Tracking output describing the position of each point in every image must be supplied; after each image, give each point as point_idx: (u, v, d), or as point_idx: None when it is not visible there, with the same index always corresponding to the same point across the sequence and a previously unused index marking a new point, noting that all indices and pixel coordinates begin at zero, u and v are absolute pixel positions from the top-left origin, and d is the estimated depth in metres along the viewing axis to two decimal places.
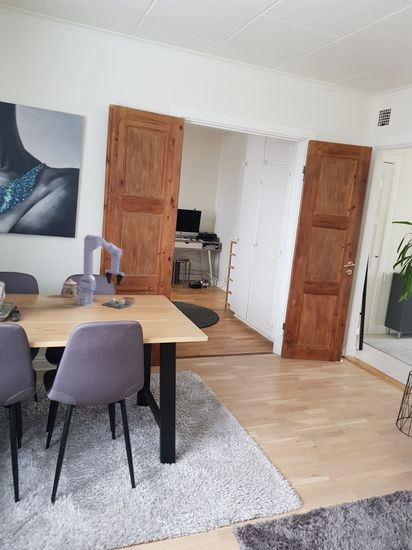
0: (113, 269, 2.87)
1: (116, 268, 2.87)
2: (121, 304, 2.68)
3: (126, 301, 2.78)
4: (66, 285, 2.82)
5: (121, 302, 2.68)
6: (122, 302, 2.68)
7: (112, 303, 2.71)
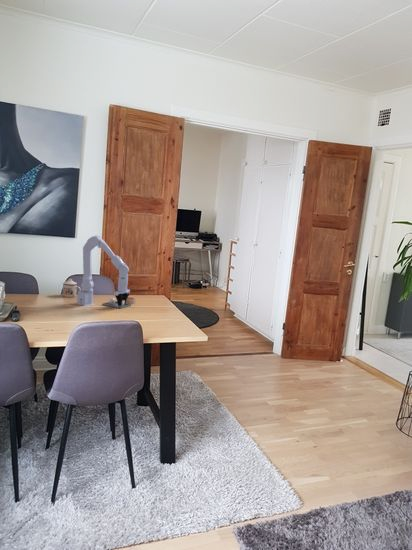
0: None
1: (118, 287, 2.66)
2: None
3: (126, 301, 2.78)
4: (66, 285, 2.82)
5: None
6: (122, 302, 2.68)
7: (112, 303, 2.71)
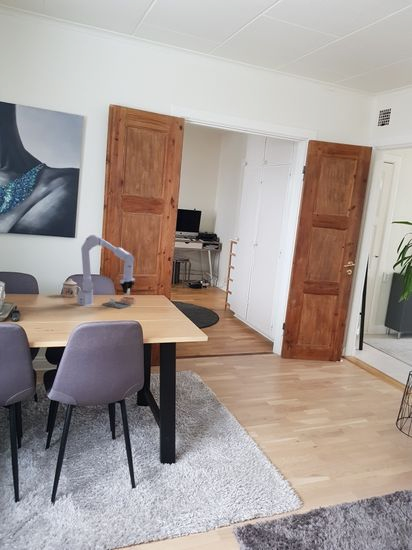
0: None
1: (124, 275, 2.72)
2: None
3: (126, 301, 2.78)
4: (66, 285, 2.82)
5: None
6: (127, 290, 2.74)
7: (112, 303, 2.71)
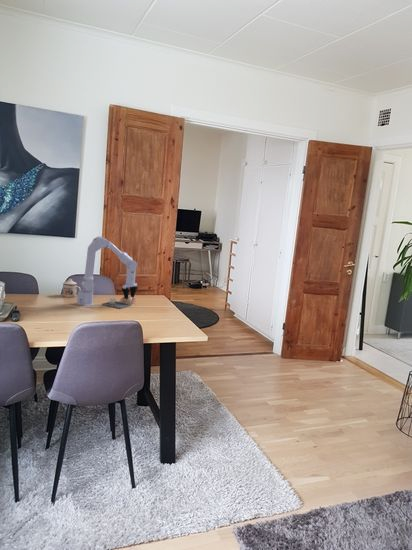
0: None
1: (126, 280, 2.78)
2: None
3: (126, 301, 2.78)
4: (66, 285, 2.82)
5: (129, 299, 2.79)
6: (130, 299, 2.80)
7: (112, 303, 2.71)
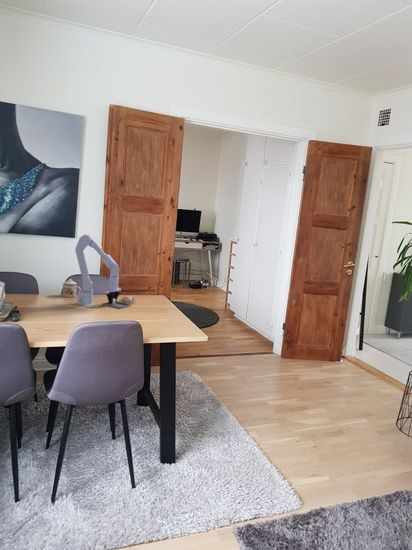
0: None
1: (109, 285, 2.69)
2: None
3: (126, 301, 2.78)
4: (66, 285, 2.82)
5: (129, 299, 2.79)
6: (129, 299, 2.79)
7: (112, 303, 2.71)
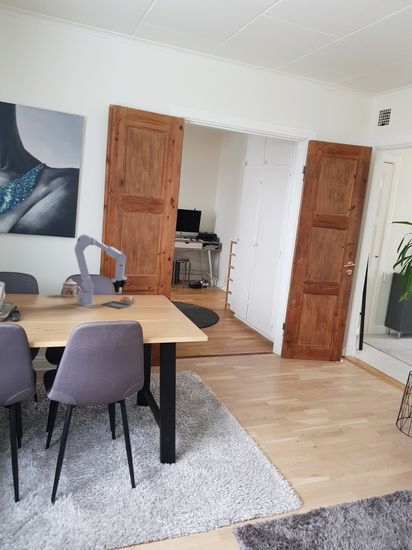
0: None
1: (115, 274, 2.72)
2: None
3: (126, 301, 2.78)
4: (66, 285, 2.82)
5: (129, 299, 2.79)
6: (130, 299, 2.80)
7: (118, 292, 2.74)
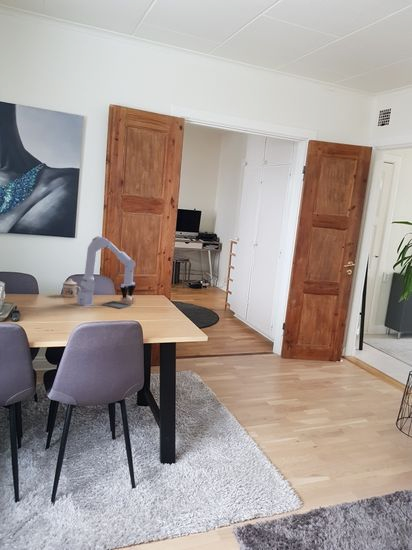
0: None
1: (124, 279, 2.81)
2: None
3: (126, 301, 2.78)
4: (66, 285, 2.82)
5: (129, 299, 2.79)
6: (129, 299, 2.79)
7: None
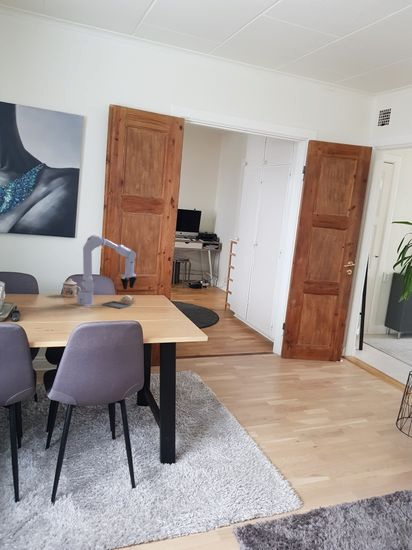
0: None
1: (125, 271, 2.78)
2: None
3: (126, 301, 2.78)
4: (66, 285, 2.82)
5: (128, 299, 2.79)
6: (129, 299, 2.79)
7: None
